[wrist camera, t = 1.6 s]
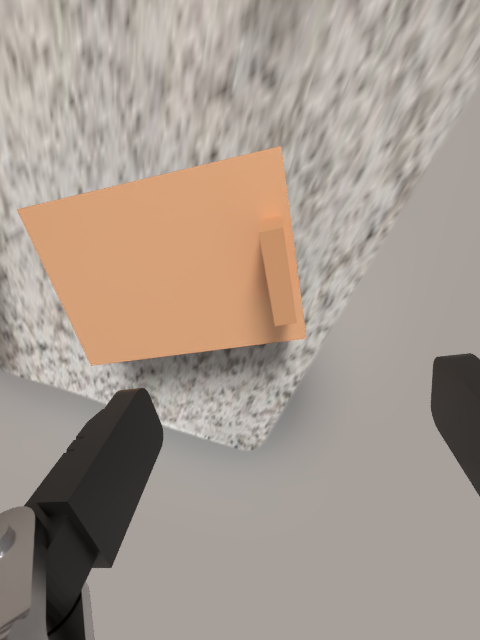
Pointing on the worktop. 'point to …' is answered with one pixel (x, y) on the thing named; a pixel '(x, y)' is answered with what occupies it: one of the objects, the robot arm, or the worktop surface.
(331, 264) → the worktop surface
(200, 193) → the lid
